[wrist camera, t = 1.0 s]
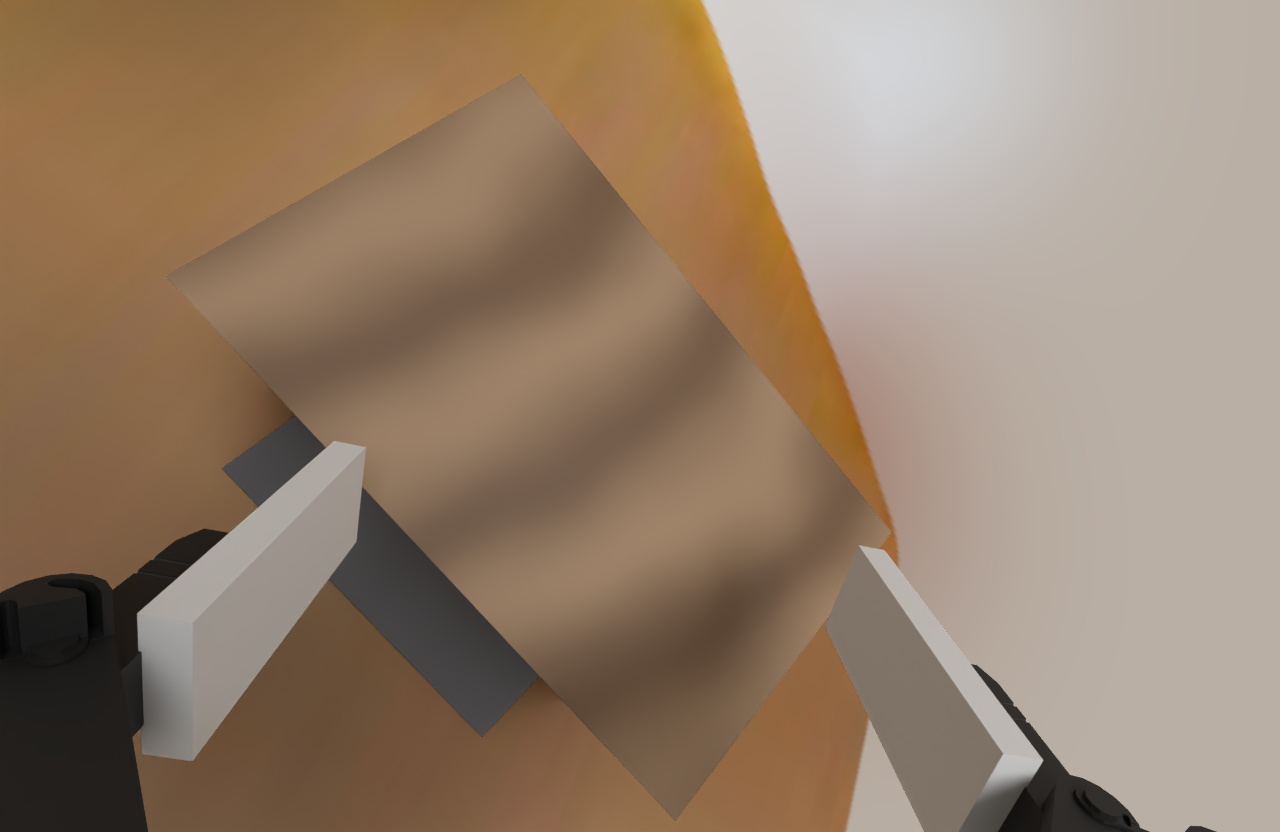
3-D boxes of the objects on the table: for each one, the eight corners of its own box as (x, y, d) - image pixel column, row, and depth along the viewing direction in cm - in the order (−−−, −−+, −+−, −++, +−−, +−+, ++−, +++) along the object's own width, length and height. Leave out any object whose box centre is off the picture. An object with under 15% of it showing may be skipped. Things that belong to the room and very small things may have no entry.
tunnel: (270, 384, 30) (165, 276, 17) (475, 244, 35) (521, 74, 22) (564, 699, 33) (675, 820, 19) (718, 528, 38) (891, 532, 24)
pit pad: (224, 469, 29) (221, 468, 29) (299, 415, 30) (298, 414, 30) (480, 734, 31) (482, 737, 31) (539, 672, 33) (541, 674, 32)
